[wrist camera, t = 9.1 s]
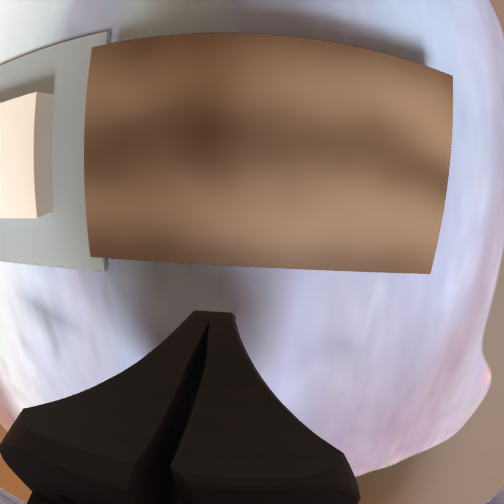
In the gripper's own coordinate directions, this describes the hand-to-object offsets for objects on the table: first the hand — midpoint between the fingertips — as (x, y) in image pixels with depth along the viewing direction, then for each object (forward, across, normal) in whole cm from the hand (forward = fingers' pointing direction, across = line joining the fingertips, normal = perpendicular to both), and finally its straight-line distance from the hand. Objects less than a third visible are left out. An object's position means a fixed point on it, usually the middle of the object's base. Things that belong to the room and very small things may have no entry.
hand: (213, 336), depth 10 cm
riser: (+9, -2, -6) cm, 11 cm away
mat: (+9, +14, -6) cm, 18 cm away
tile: (+7, +15, -6) cm, 18 cm away
